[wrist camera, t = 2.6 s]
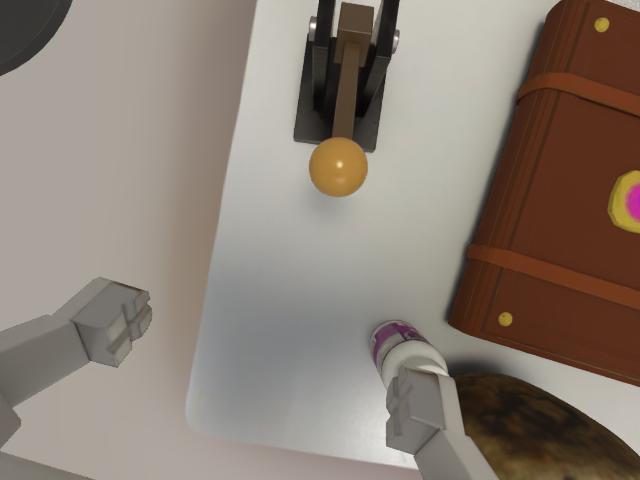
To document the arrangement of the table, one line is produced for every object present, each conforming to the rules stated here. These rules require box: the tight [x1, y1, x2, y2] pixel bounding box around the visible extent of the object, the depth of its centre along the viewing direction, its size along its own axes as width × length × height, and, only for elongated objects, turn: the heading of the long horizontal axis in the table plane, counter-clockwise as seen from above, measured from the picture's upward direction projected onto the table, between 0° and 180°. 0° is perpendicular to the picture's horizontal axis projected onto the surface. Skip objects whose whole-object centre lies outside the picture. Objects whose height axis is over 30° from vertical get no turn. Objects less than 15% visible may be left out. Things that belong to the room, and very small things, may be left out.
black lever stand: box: [294, 0, 400, 152], centre depth 26 cm, size 10×8×12 cm
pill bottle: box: [370, 321, 450, 391], centre depth 28 cm, size 5×5×10 cm
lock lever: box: [309, 2, 374, 197], centre depth 19 cm, size 14×3×3 cm, turn 172°
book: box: [448, 0, 640, 387], centre depth 30 cm, size 23×32×5 cm
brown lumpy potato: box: [452, 372, 640, 480], centre depth 23 cm, size 13×8×20 cm, turn 79°
